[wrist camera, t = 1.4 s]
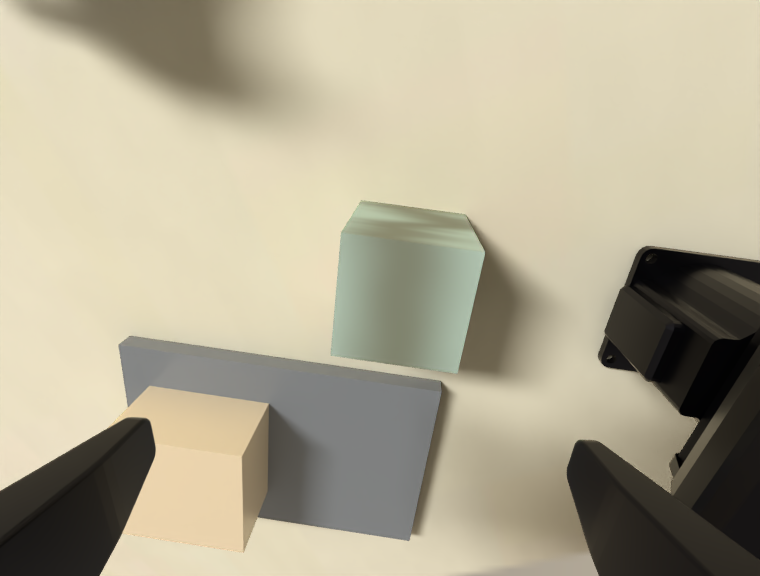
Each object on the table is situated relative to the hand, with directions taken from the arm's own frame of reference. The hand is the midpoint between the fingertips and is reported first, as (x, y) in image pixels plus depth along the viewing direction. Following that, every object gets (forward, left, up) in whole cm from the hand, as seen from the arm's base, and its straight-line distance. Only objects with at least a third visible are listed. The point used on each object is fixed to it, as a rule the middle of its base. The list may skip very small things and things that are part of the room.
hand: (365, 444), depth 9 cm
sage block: (-1, 0, -13) cm, 13 cm away
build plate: (+5, +13, -13) cm, 19 cm away
